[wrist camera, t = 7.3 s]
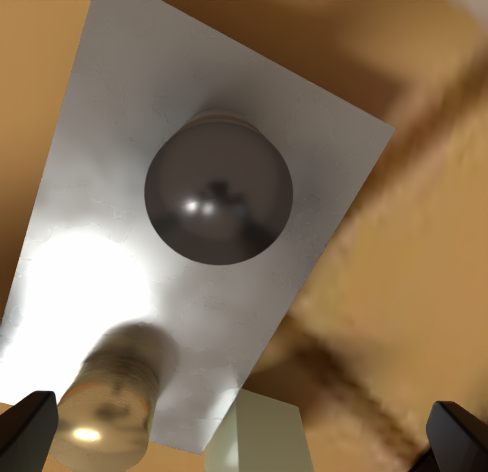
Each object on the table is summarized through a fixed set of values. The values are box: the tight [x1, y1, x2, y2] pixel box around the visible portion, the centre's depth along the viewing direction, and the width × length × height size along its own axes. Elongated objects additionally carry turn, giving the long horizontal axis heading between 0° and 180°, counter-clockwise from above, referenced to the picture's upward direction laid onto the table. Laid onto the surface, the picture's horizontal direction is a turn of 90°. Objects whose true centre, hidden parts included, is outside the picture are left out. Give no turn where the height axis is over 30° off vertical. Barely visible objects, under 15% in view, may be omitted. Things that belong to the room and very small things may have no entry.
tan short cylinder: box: [49, 354, 159, 472], centre depth 17 cm, size 4×4×3 cm
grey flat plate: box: [0, 0, 396, 455], centre depth 17 cm, size 12×20×2 cm, turn 155°
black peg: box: [144, 109, 293, 265], centre depth 11 cm, size 4×4×6 cm
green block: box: [204, 388, 314, 472], centre depth 20 cm, size 4×4×6 cm
